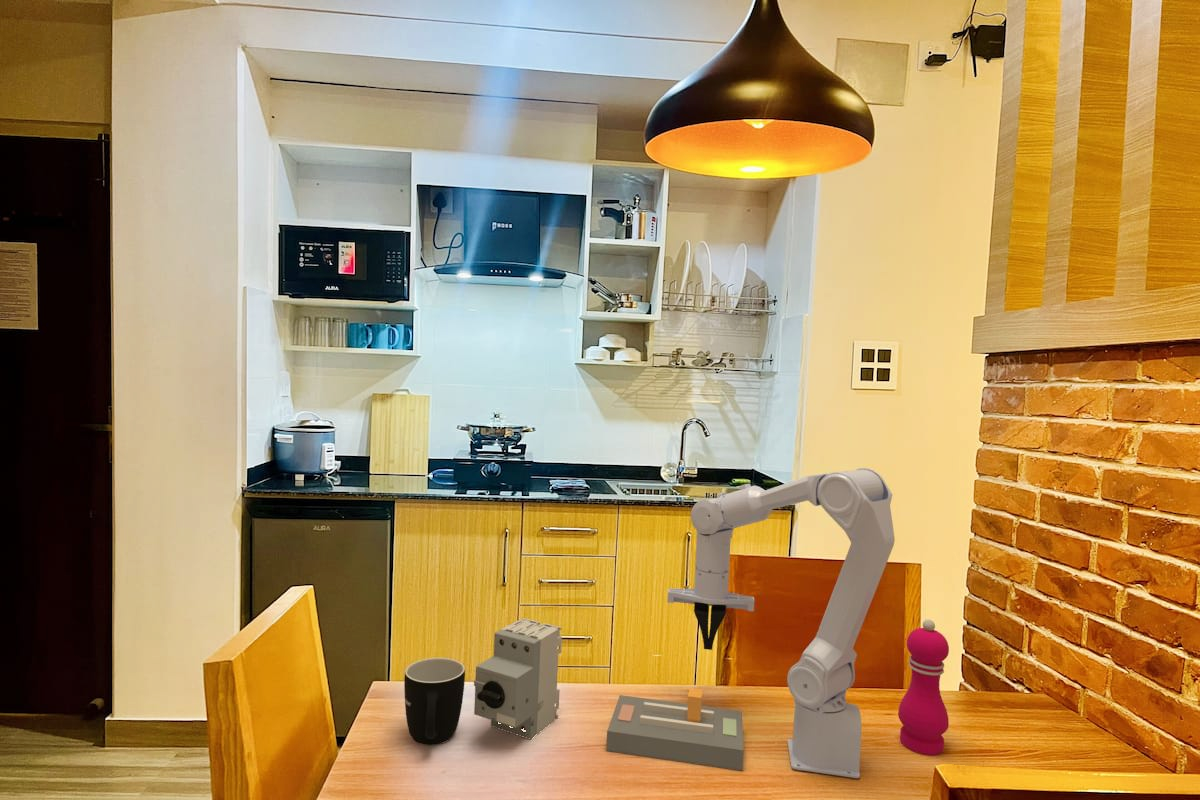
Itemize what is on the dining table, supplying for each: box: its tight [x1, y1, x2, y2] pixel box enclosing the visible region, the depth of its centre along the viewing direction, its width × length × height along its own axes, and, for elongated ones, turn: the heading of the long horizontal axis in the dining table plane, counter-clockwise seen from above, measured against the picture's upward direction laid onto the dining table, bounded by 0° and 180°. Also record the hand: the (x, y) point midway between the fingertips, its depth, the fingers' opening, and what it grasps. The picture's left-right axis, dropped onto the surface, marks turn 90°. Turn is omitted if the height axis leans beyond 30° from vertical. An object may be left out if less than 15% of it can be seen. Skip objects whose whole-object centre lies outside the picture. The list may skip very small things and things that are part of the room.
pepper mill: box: [897, 619, 950, 756], centre depth 108 cm, size 7×7×20 cm
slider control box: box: [605, 694, 745, 772], centre depth 106 cm, size 20×12×4 cm, turn 79°
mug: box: [403, 657, 466, 746], centre depth 103 cm, size 12×9×10 cm
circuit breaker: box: [473, 617, 563, 740], centre depth 107 cm, size 8×14×15 cm, turn 152°
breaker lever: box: [687, 688, 703, 723], centre depth 106 cm, size 2×3×4 cm
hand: (708, 647), depth 117 cm, fingers closed
